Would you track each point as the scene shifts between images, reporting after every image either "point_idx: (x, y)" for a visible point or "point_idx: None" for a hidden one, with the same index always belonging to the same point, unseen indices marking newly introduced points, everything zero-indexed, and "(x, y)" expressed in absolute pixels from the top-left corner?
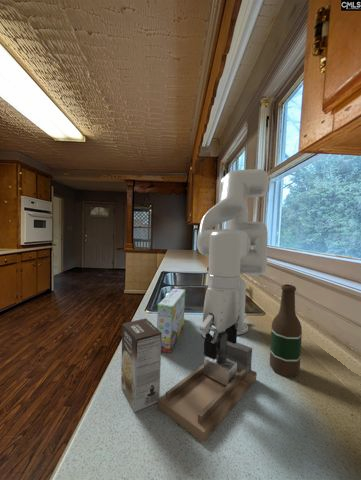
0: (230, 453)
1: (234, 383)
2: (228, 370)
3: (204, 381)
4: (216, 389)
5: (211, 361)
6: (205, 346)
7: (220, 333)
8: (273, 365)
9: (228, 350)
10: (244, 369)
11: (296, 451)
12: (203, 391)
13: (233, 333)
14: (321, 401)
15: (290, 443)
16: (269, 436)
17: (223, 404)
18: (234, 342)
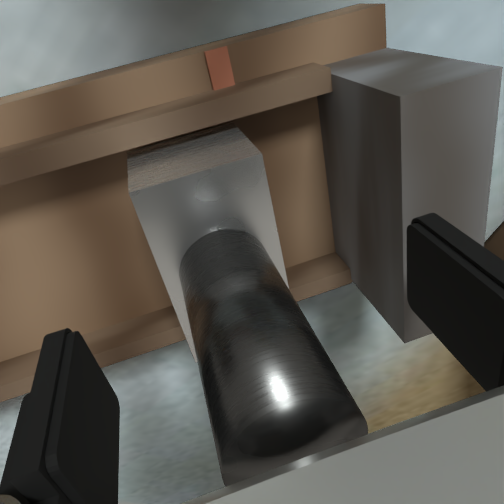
0: (7, 440)
1: None
2: (194, 358)
3: (95, 202)
4: (120, 278)
5: (157, 253)
6: (10, 453)
7: (278, 461)
8: (502, 255)
9: (377, 203)
10: (341, 277)
11: (193, 471)
12: (39, 262)
13: (465, 351)
14: (421, 395)
15: (202, 456)
16: (169, 432)
17: None
18: (413, 308)
